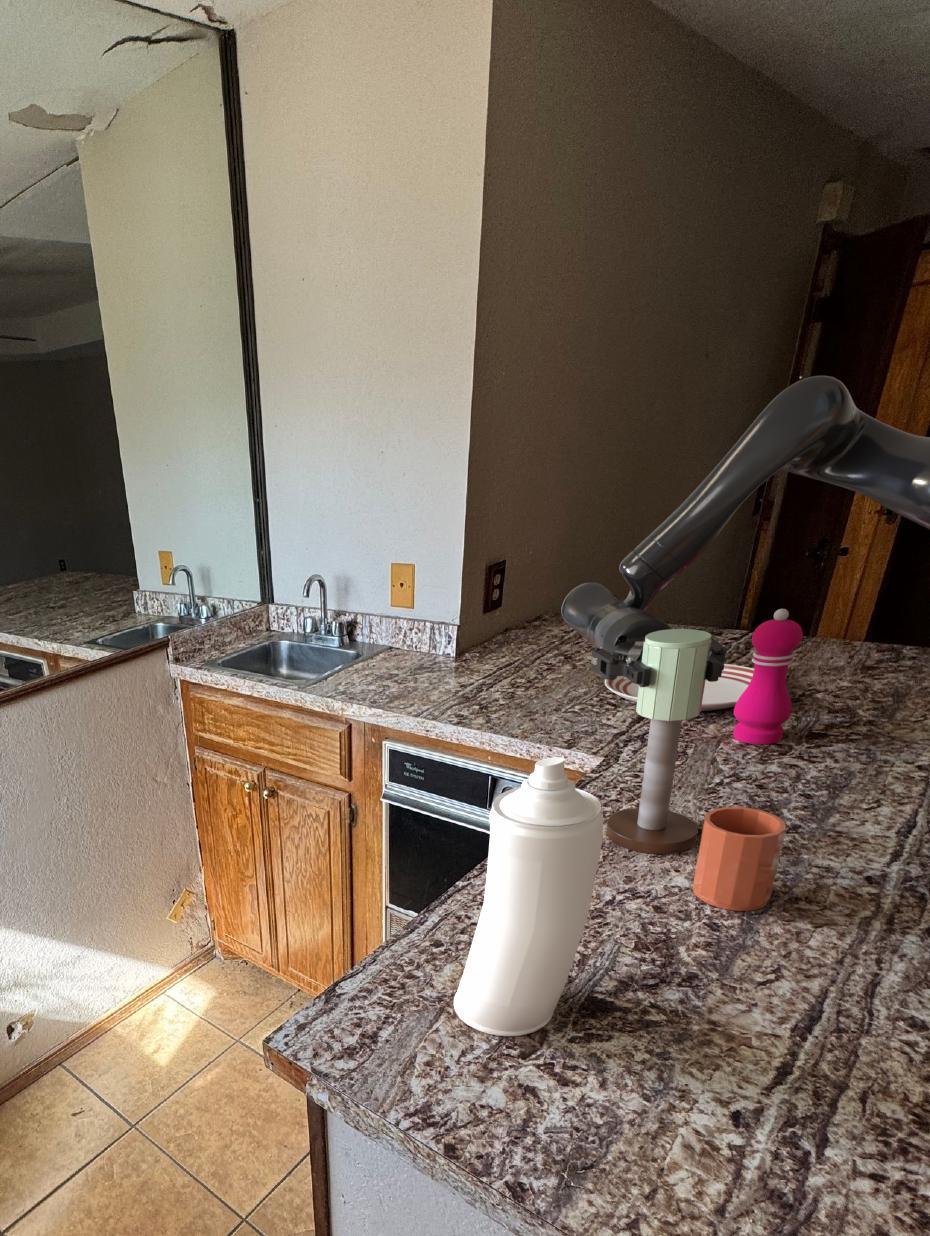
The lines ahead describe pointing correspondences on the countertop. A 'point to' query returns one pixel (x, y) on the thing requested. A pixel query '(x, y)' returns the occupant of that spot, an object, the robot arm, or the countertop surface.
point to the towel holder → (655, 801)
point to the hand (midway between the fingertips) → (681, 675)
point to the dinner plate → (714, 694)
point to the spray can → (531, 902)
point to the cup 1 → (674, 674)
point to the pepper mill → (768, 682)
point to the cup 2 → (738, 858)
